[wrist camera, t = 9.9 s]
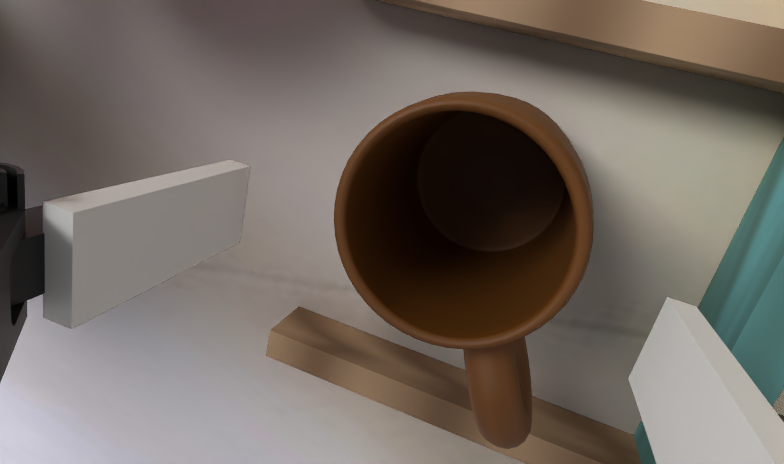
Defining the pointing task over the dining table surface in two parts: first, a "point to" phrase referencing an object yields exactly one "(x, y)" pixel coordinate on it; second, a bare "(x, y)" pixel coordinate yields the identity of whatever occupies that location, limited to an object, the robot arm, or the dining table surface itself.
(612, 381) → the dining table surface
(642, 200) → the dining table surface
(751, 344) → the u-shaped wooden frame
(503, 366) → the mug
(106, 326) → the dining table surface
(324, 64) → the dining table surface
